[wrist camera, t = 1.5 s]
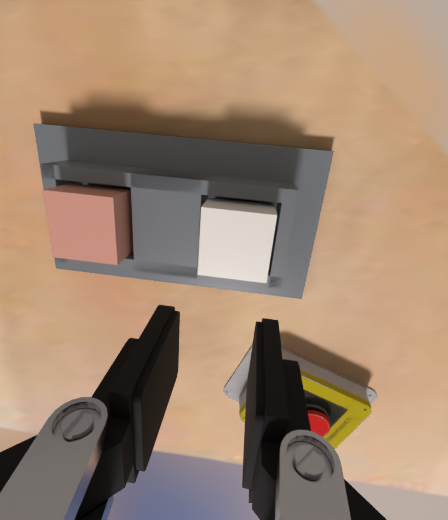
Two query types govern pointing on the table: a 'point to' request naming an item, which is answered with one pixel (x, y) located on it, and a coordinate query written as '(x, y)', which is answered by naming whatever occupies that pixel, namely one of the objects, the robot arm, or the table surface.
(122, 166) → the key panel
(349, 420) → the emergency button
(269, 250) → the cream key
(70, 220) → the terracotta key
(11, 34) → the table surface
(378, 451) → the table surface
